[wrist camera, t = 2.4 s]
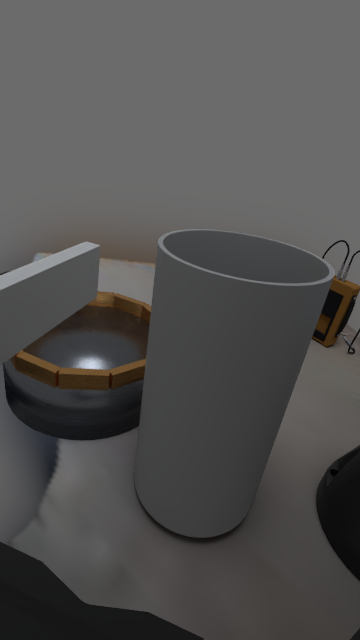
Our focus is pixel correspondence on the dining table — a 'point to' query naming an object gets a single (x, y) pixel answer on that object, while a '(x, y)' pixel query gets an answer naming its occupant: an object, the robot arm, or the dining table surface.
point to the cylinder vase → (220, 371)
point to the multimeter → (337, 308)
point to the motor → (84, 372)
